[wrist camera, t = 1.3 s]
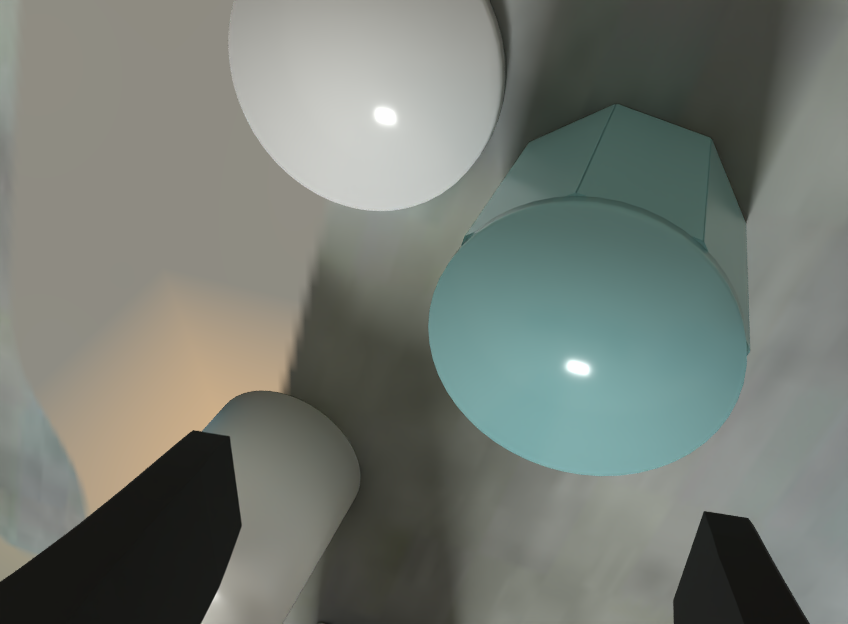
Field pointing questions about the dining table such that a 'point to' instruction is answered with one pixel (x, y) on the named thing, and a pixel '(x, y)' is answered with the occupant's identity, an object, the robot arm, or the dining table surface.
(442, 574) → the dining table surface
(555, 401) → the teal octagonal canister
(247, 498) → the white rounded cylinder
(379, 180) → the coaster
